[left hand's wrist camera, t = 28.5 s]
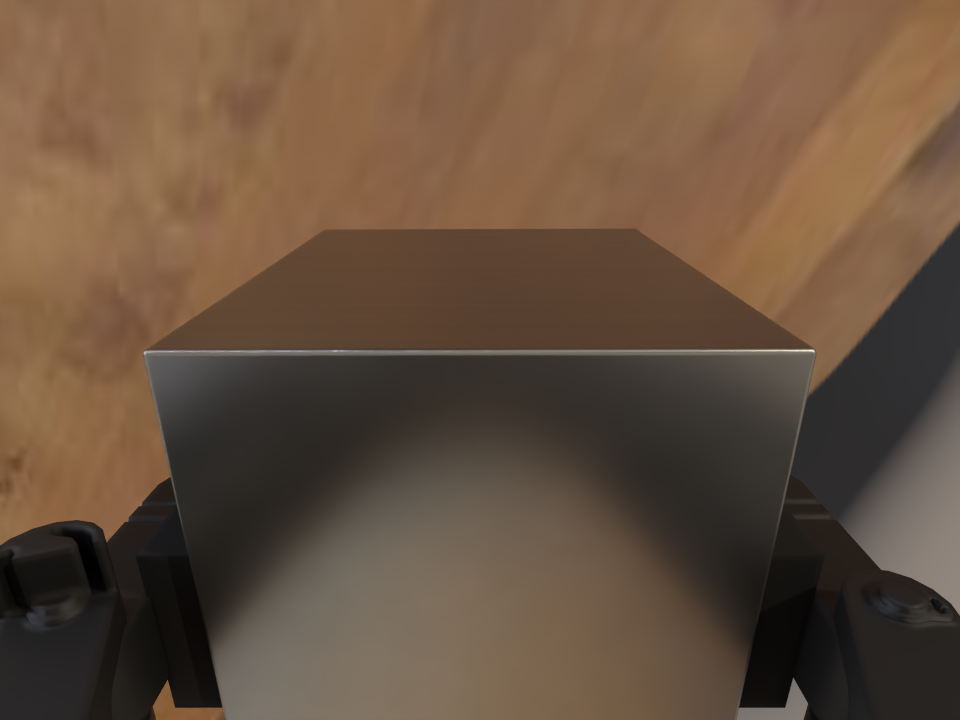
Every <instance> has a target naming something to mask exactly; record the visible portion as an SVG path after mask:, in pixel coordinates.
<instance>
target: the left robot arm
mask: <svg viewBox="0 0 960 720" xmlns="http://www.w3.org/2000/svg"><path fill="white" fill-rule="evenodd" d="M793 677H794V679H795V681H796V683H797V684H798V686H799V688H800V690H801V692H802V693H803V695H804V697H805V699H806V700H807V702H808V706H807V710H806V713H805V717H804V720H960V615H959V614H958V613H957V611H956V610H955V609H954V607H953V606H952V605H951V603H949V602H948V601H947V600H946V599H944V598H943V597H942V596H940V595H939V594H938V593H937V592H935V591H934V590H933V589H931V588H929V587H927V586H925V585H923V584H921V583H919V582H918V581H916V580H914V579H912V578H909V577H906V576H903V575H900V574H896V573H893V572H890V571H884V570H881V569H880V568H879V567H878V566H877V565H876V564H875V563H874V562H873V561H872V559H871V558H870V557H869V556H868V555H867V554H866V553H865V552H864V550H863V549H862V548H861V547H860V546H859V545H858V544H857V543H856V542H855V540H854V539H853V538H852V537H851V536H850V535H849V534H848V533H847V532H846V531H845V529H844V528H843V527H842V526H841V525H840V524H839V523H838V522H837V521H836V520H833V519H832V515H831V514H830V513H829V512H828V511H827V509H826V508H825V507H824V506H823V505H822V504H819V501H818V499H817V498H816V497H815V496H814V495H813V494H812V493H811V492H810V491H809V489H808V488H807V487H806V486H805V485H804V484H803V483H802V482H801V481H799V480H797V479H796V478H794V477H793V476H791V475H790V477H789V481H788V486H787V490H786V495H785V500H784V504H783V509H782V513H781V518H780V522H779V527H778V531H777V536H776V541H775V545H774V550H773V554H772V559H771V563H770V568H769V573H768V577H767V582H766V586H765V591H764V595H763V600H762V604H761V609H760V614H759V618H758V623H757V627H756V632H755V636H754V641H753V645H752V650H751V655H750V659H749V664H748V668H747V673H746V677H745V682H744V687H743V691H742V696H741V700H740V705H739V708H785V706H786V702H787V699H788V695H789V691H790V687H791V683H792V680H793ZM167 680H168V682H169V685H170V689H171V693H172V697H173V701H174V705H175V708H223V707H222V702H221V698H220V693H219V689H218V684H217V680H216V676H215V671H214V667H213V662H212V658H211V653H210V649H209V645H208V640H207V636H206V631H205V627H204V622H203V618H202V614H201V609H200V605H199V600H198V596H197V591H196V587H195V582H194V578H193V574H192V569H191V565H190V560H189V556H188V551H187V547H186V543H185V538H184V534H183V529H182V525H181V520H180V516H179V511H178V507H177V503H176V498H175V494H174V489H173V485H172V480H171V477H170V478H168V479H167V480H165V481H163V482H162V483H160V484H159V485H158V486H157V487H156V488H155V489H154V490H153V491H152V492H151V494H150V495H149V496H148V497H147V498H146V499H145V500H144V501H143V503H142V506H139V507H138V508H137V509H136V510H135V511H134V513H133V514H132V515H131V516H130V517H129V521H128V522H125V523H124V524H123V525H122V526H121V527H120V528H119V529H118V530H117V532H116V533H115V534H114V535H113V536H112V537H111V538H110V539H109V541H108V542H107V543H106V539H105V536H104V532H103V530H102V529H101V528H100V527H98V526H97V525H96V524H94V523H92V522H85V521H79V520H75V521H65V522H56V523H52V524H48V525H45V526H41V527H38V528H34V529H31V530H29V531H27V532H25V533H22V534H20V535H18V536H16V537H14V538H11V539H9V540H8V541H6V542H5V543H3V544H2V545H1V546H0V720H156V717H155V713H154V710H153V704H154V703H155V701H156V699H157V697H158V696H159V694H160V692H161V690H162V688H163V687H164V685H165V683H166V681H167Z"/></svg>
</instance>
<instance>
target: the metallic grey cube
mask: <svg viewBox="0 0 960 720" xmlns="http://www.w3.org/2000/svg"><path fill="white" fill-rule="evenodd" d="M815 358H816V351H815V349H814V348H813V347H811V346H810V345H808V344H807V343H805V342H804V341H802V340H801V339H799V338H798V337H796V336H795V335H793V334H792V333H790V332H789V331H787V330H786V329H784V328H783V327H781V326H780V325H778V324H777V323H775V322H774V321H772V320H771V319H769V318H768V317H766V316H765V315H763V314H762V313H760V312H759V311H757V310H756V309H754V308H753V307H751V306H750V305H748V304H747V303H745V302H744V301H742V300H741V299H739V298H738V297H736V296H735V295H733V294H732V293H730V292H729V291H727V290H726V289H724V288H723V287H721V286H720V285H719V284H717V283H716V282H714V281H713V280H711V279H710V278H708V277H707V276H705V275H704V274H702V273H701V272H699V271H698V270H696V269H695V268H693V267H692V266H690V265H689V264H687V263H686V262H684V261H683V260H681V259H680V258H678V257H677V256H675V255H674V254H672V253H671V252H669V251H668V250H666V249H665V248H663V247H662V246H660V245H659V244H657V243H656V242H654V241H653V240H651V239H650V238H648V237H647V236H645V235H644V234H642V233H641V232H639V231H638V230H636V229H383V230H324V231H322V232H321V233H319V234H318V235H316V236H315V237H313V238H312V239H310V240H309V241H307V242H306V243H304V244H303V245H301V246H300V247H298V248H297V249H295V250H294V251H292V252H291V253H289V254H288V255H286V256H285V257H283V258H282V259H280V260H279V261H278V262H276V263H275V264H273V265H272V266H270V267H269V268H267V269H266V270H264V271H263V272H261V273H260V274H258V275H257V276H255V277H254V278H252V279H251V280H249V281H248V282H246V283H245V284H243V285H242V286H240V287H239V288H237V289H236V290H234V291H233V292H231V293H230V294H228V295H227V296H225V297H224V298H222V299H221V300H219V301H218V302H216V303H215V304H213V305H212V306H210V307H209V308H207V309H206V310H204V311H203V312H201V313H200V314H198V315H197V316H196V317H194V318H193V319H191V320H190V321H188V322H187V323H185V324H184V325H182V326H181V327H179V328H178V329H176V330H175V331H173V332H172V333H170V334H169V335H167V336H166V337H164V338H163V339H161V340H160V341H158V342H157V343H155V344H154V345H152V346H151V347H149V348H148V349H146V350H145V351H144V361H145V365H146V369H147V374H148V378H149V383H150V387H151V392H152V396H153V401H154V405H155V409H156V414H157V418H158V423H159V427H160V432H161V436H162V440H163V445H164V449H165V454H166V458H167V463H168V467H169V472H170V476H171V480H172V485H173V489H174V494H175V498H176V503H177V507H178V511H179V516H180V520H181V525H182V529H183V534H184V538H185V543H186V547H187V551H188V556H189V560H190V565H191V569H192V574H193V578H194V582H195V587H196V591H197V596H198V600H199V605H200V609H201V614H202V618H203V622H204V627H205V631H206V636H207V640H208V645H209V649H210V653H211V658H212V662H213V667H214V671H215V676H216V680H217V684H218V689H219V693H220V698H221V702H222V707H223V711H224V716H225V720H736V718H737V714H738V709H739V705H740V700H741V696H742V691H743V687H744V682H745V677H746V673H747V668H748V664H749V659H750V655H751V650H752V645H753V641H754V636H755V632H756V627H757V623H758V618H759V614H760V609H761V604H762V600H763V595H764V591H765V586H766V582H767V577H768V573H769V568H770V563H771V559H772V554H773V550H774V545H775V541H776V536H777V531H778V527H779V522H780V518H781V513H782V509H783V504H784V500H785V495H786V490H787V486H788V481H789V477H790V472H791V467H792V463H793V458H794V454H795V449H796V445H797V440H798V436H799V431H800V426H801V422H802V417H803V413H804V408H805V404H806V399H807V395H808V390H809V386H810V381H811V376H812V372H813V367H814V363H815Z"/></svg>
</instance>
